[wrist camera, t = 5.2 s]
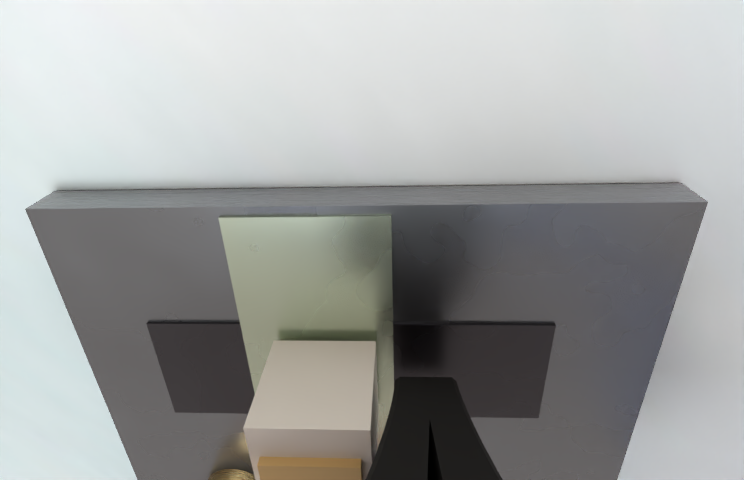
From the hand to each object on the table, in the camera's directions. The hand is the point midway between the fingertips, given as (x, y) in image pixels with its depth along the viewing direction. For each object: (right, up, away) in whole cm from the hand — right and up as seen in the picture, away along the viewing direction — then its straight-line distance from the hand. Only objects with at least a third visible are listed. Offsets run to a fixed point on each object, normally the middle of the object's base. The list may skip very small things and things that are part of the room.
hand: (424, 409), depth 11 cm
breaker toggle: (-2, 0, +1) cm, 2 cm away
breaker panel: (-1, 0, +2) cm, 3 cm away
